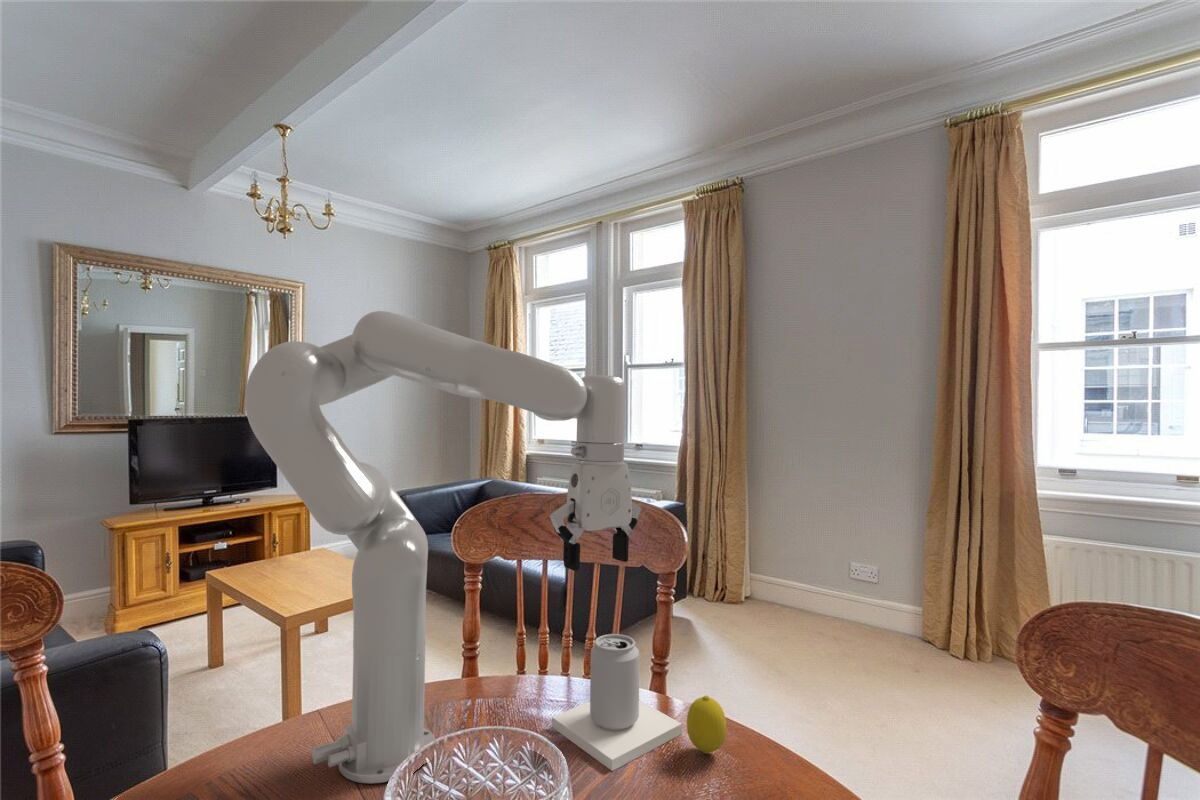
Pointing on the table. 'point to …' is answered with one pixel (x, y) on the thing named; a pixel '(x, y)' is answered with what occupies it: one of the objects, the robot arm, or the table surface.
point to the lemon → (706, 724)
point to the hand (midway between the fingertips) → (596, 564)
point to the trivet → (617, 734)
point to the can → (614, 682)
